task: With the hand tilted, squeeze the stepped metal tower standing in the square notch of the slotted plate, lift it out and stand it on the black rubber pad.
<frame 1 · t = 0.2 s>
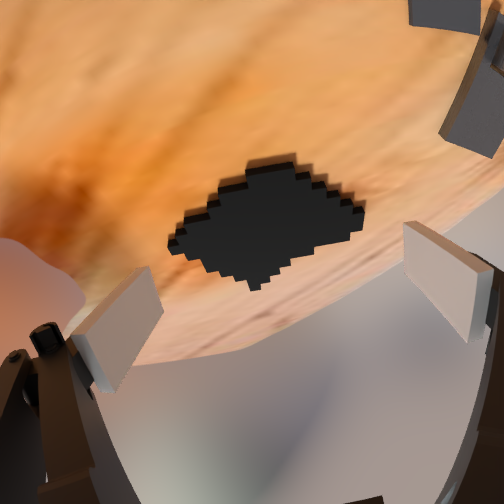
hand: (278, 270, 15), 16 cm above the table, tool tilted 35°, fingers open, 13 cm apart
slotted plate: (498, 72, 19), on the table
decorative item: (266, 231, 37), on the table
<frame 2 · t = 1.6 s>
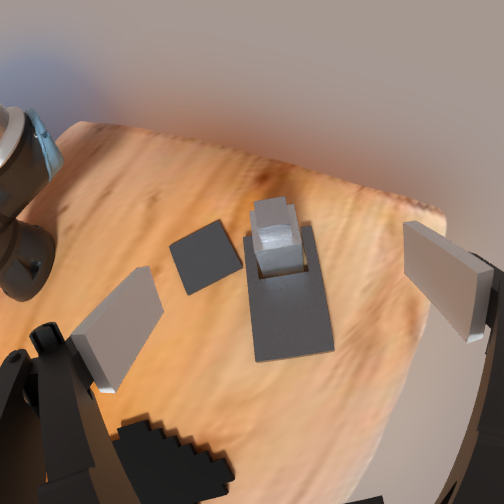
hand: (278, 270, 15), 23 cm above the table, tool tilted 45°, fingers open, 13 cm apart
slotted plate: (284, 278, 39), on the table
pad: (204, 257, 42), on the table
decorative item: (155, 491, 29), on the table
stepped metal tower: (281, 257, 40), on the table
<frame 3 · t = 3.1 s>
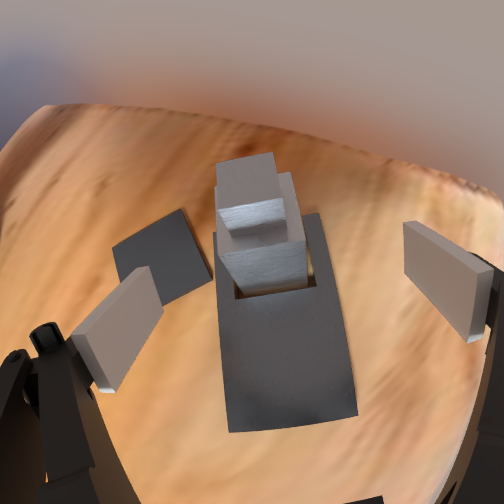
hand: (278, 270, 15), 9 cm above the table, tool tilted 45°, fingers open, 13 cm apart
slotted plate: (277, 297, 24), on the table
pad: (158, 263, 27), on the table
stepped metal tower: (272, 263, 25), on the table
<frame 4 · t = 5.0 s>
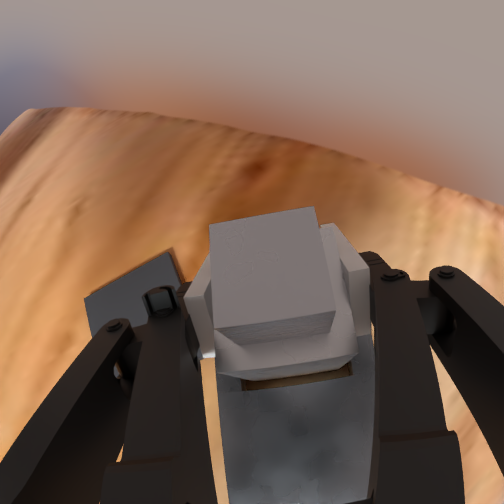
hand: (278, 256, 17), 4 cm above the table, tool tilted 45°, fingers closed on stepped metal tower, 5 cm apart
slotted plate: (298, 383, 17), on the table
pad: (140, 326, 20), on the table
stepped metal tower: (291, 336, 18), on the table, touching gripper
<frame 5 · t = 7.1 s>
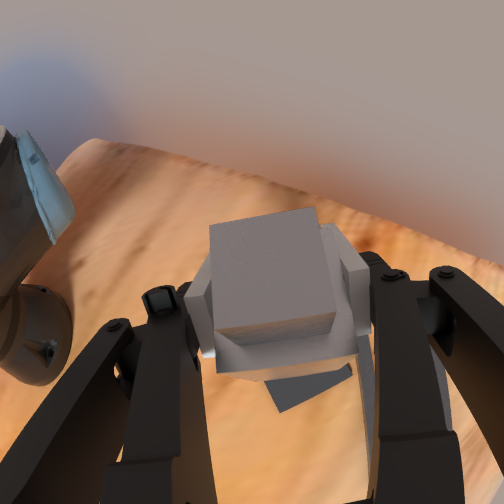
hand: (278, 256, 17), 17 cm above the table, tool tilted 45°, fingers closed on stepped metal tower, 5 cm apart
slotted plate: (403, 387, 26), on the table
pad: (298, 361, 29), on the table
stepped metal tower: (292, 336, 18), point 13 cm above the table, touching gripper
when the fingers open (5 cm above the table, at t = 9.6 s): stepped metal tower drops 1 cm, resting on pad.
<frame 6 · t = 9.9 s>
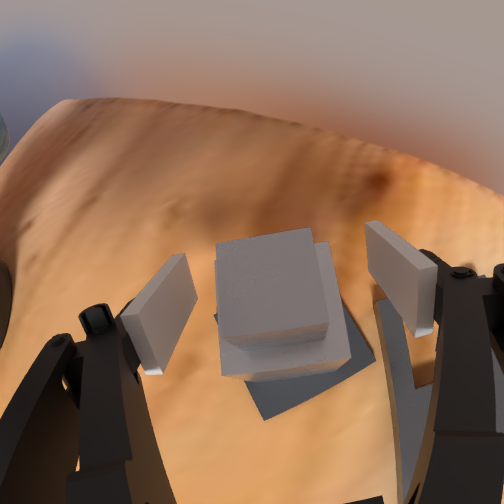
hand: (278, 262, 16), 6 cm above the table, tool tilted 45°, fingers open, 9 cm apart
slotted plate: (447, 376, 16), on the table
pad: (293, 340, 20), on the table
stepped metal tower: (290, 339, 19), point 1 cm above the table, touching pad
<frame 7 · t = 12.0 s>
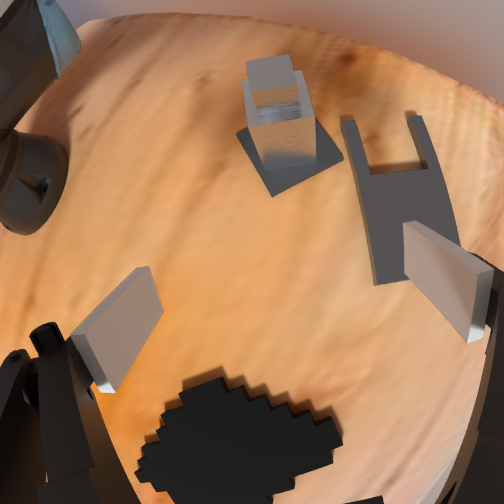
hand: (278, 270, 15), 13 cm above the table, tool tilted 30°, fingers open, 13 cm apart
slotted plate: (397, 176, 27), on the table
pad: (288, 146, 30), on the table
decorative item: (233, 467, 26), on the table
stepped metal tower: (286, 144, 29), point 1 cm above the table, touching pad
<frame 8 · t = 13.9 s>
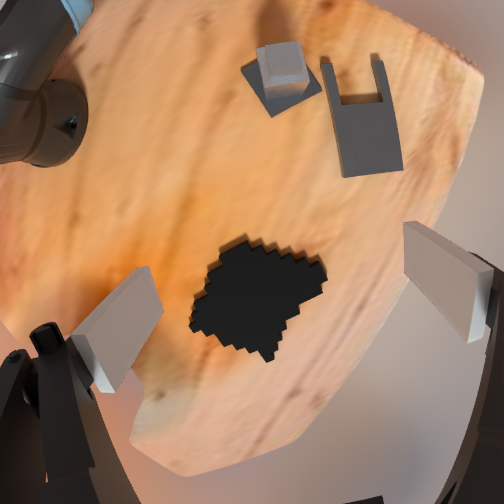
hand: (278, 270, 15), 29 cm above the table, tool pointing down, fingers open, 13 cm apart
slotted plate: (360, 103, 37), on the table
pad: (281, 80, 37), on the table
decorative item: (257, 303, 48), on the table
stepped metal tower: (280, 79, 36), point 1 cm above the table, touching pad
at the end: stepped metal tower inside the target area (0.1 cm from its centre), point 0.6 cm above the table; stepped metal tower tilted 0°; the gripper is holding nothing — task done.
